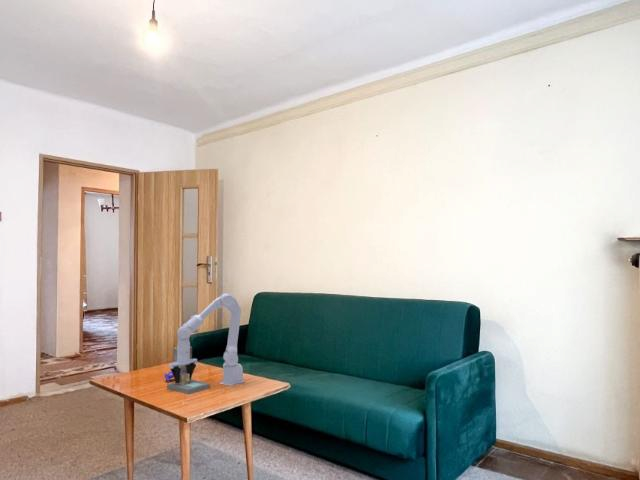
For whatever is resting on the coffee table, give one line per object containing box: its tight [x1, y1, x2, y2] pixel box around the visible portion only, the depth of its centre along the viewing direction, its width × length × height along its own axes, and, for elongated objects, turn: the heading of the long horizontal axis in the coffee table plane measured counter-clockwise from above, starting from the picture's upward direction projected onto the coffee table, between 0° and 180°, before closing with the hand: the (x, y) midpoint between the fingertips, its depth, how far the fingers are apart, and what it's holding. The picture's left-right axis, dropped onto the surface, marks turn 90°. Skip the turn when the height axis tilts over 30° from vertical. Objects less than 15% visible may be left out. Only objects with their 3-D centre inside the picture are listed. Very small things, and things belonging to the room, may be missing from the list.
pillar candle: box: [173, 345, 193, 373], centre depth 233 cm, size 10×10×15 cm
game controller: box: [163, 368, 184, 383], centre depth 214 cm, size 10×8×10 cm
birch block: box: [177, 373, 189, 385], centre depth 202 cm, size 4×4×6 cm
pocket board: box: [166, 378, 211, 395], centre depth 200 cm, size 12×16×3 cm
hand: (183, 381), depth 202 cm, fingers open, 6 cm apart
